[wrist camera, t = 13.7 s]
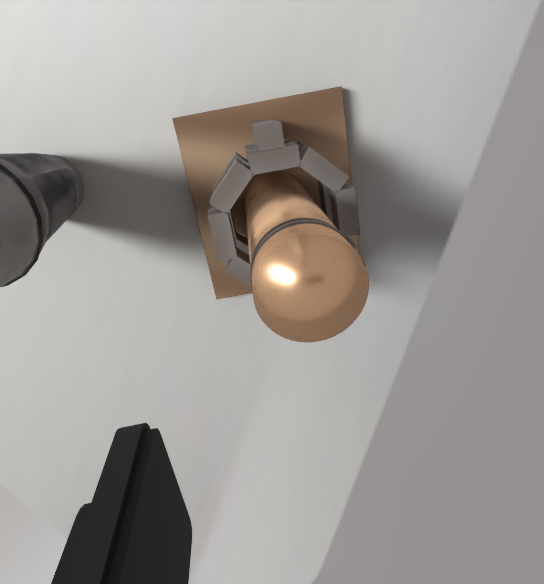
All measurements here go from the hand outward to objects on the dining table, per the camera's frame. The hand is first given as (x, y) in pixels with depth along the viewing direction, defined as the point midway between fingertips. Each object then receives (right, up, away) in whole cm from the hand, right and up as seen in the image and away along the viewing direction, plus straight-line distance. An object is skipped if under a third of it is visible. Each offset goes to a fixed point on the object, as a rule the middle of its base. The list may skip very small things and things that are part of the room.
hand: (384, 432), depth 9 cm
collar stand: (-2, +10, +25) cm, 27 cm away
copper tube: (-2, +10, +24) cm, 26 cm away
